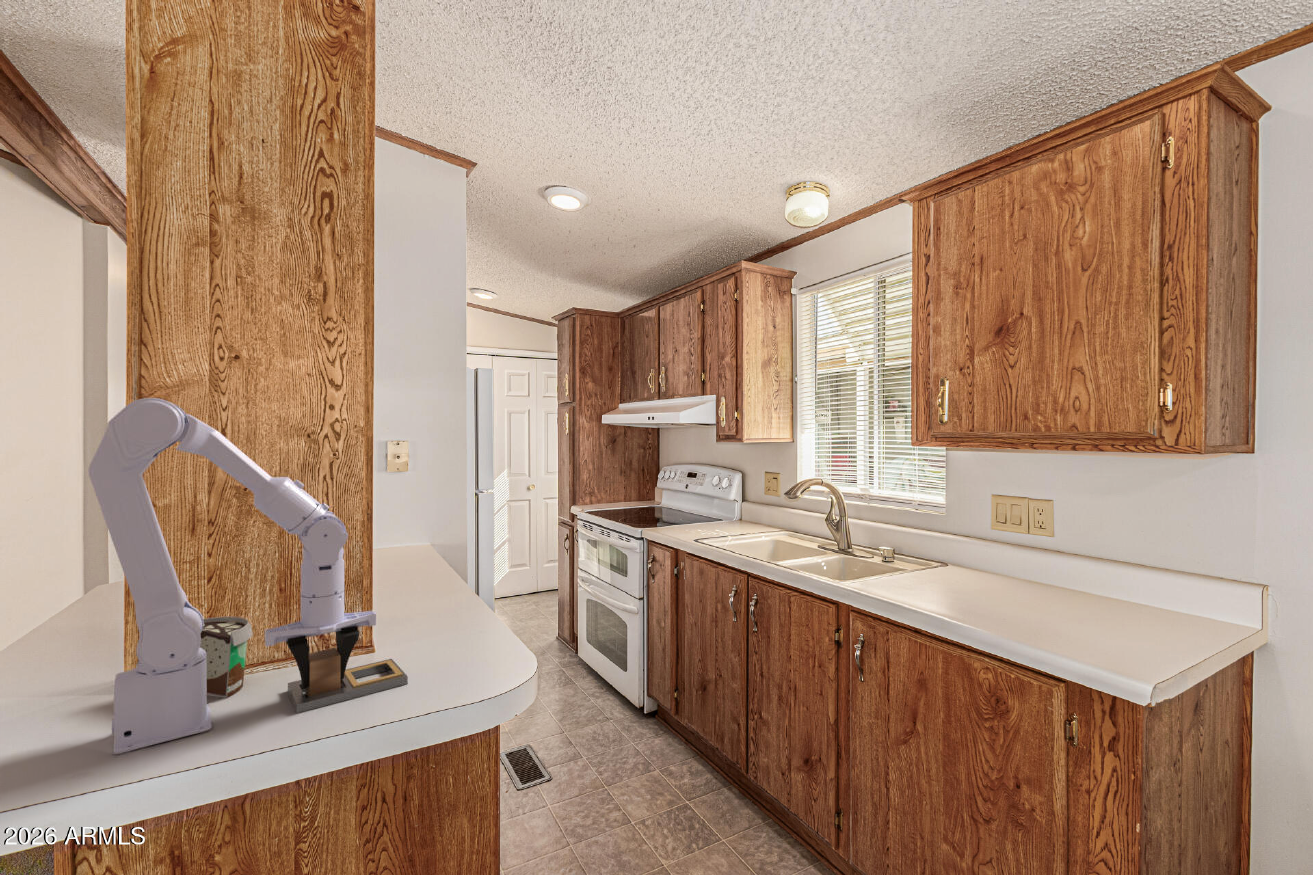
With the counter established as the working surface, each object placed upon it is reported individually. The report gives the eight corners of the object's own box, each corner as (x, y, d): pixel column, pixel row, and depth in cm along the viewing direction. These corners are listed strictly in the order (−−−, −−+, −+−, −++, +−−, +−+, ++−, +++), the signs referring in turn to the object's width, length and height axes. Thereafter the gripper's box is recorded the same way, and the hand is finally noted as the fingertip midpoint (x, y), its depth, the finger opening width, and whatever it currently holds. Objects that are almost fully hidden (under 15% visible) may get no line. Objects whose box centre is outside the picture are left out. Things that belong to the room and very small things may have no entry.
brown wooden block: (310, 702, 84) (310, 661, 84) (305, 692, 87) (305, 653, 87) (340, 694, 87) (340, 655, 87) (335, 685, 90) (335, 647, 90)
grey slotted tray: (296, 713, 81) (296, 703, 81) (287, 690, 88) (287, 681, 88) (407, 683, 91) (407, 674, 91) (391, 665, 97) (391, 657, 97)
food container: (272, 682, 91) (272, 619, 91) (234, 699, 85) (234, 632, 85) (213, 672, 94) (213, 612, 94) (173, 689, 88) (173, 624, 88)
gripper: (268, 607, 79) (268, 705, 79) (381, 589, 88) (381, 677, 88) (263, 596, 85) (263, 687, 85) (369, 580, 94) (369, 662, 94)
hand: (322, 681), depth 87 cm, fingers closed on brown wooden block, 4 cm apart
